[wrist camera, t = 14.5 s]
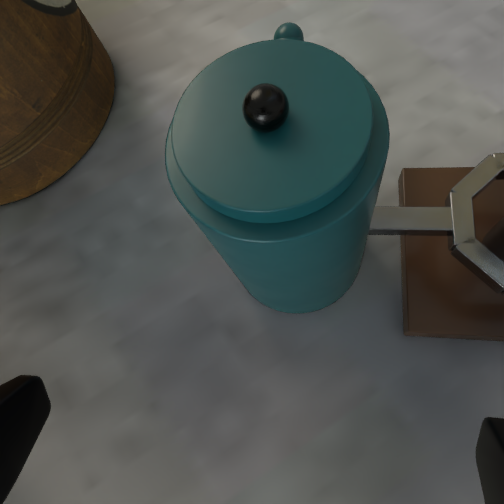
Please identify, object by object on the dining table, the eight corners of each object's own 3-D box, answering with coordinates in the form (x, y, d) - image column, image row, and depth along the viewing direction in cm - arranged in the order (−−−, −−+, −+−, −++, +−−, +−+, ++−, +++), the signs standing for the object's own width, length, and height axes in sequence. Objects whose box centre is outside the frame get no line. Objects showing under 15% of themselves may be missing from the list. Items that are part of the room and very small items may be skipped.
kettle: (568, 327, 18) (964, 216, 7) (229, 310, 20) (115, 213, 9) (538, 142, 21) (779, -148, 10) (245, 149, 23) (172, -67, 12)
